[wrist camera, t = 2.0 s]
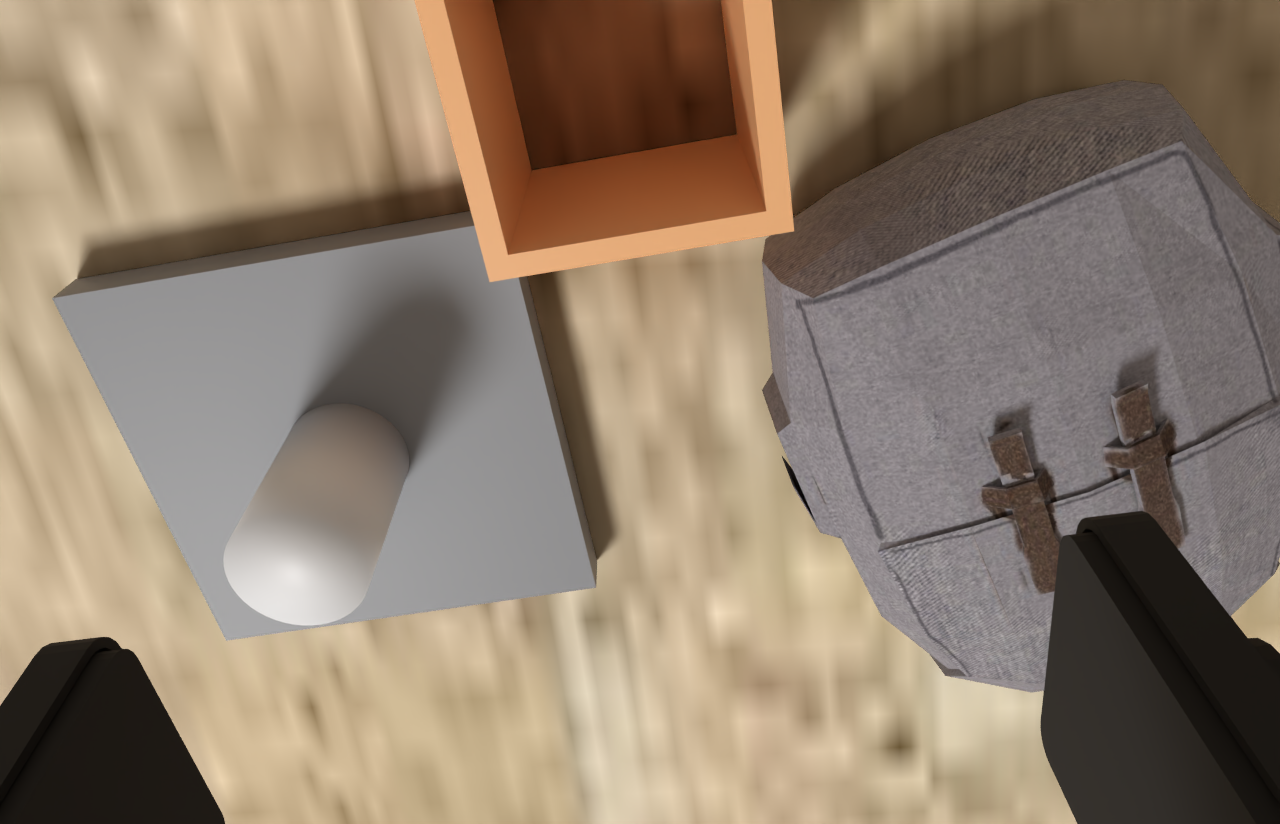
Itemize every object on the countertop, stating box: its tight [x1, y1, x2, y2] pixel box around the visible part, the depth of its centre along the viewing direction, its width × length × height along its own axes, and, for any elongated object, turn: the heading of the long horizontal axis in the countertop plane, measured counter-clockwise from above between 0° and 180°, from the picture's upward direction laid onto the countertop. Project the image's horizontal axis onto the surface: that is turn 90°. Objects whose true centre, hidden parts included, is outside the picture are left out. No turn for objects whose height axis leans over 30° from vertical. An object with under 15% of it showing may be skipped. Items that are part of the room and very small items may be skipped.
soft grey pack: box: [762, 80, 1280, 692], centre depth 30 cm, size 15×8×20 cm
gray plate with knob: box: [52, 211, 597, 640], centre depth 31 cm, size 14×14×8 cm
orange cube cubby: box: [415, 0, 794, 282], centre depth 25 cm, size 7×7×7 cm
